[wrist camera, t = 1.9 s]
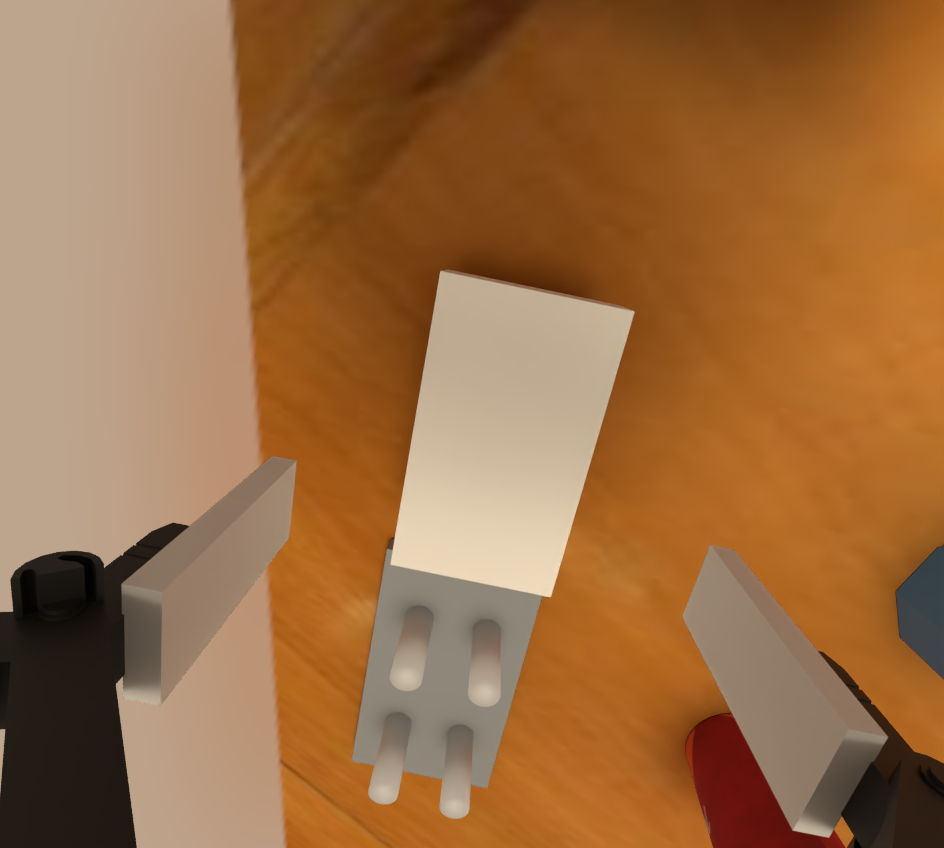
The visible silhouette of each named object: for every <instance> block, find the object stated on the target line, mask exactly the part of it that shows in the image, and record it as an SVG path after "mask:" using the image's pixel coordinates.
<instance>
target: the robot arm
mask: <svg viewBox="0 0 944 848" xmlns="http://www.w3.org/2000/svg"><path fill="white" fill-rule="evenodd" d="M296 464H297V461H296V460H291V459H286V458H281V457H276V456H272V457H270V458H269V459H268V460H267V461H266V462H265V463H263V464H262V465H261V466H260V467H259V468H257V469H256V470H255V471H254V472H253V473H252V474H250V475H249V476H248V477H247V478H246V479H245V480H243V481H242V482H241V483H240V484H239V485H237V486H236V487H235V488H234V489H233V490H232V491H230V492H229V493H228V494H227V495H226V496H225V497H223V498H222V499H221V500H220V501H219V502H217V503H216V504H215V505H214V506H213V507H211V508H210V509H209V510H208V511H207V512H206V513H204V514H203V515H202V516H201V517H200V518H199V519H197V520H196V521H195V522H194V523H193V524H191V525H190V526H187V525H182V524H176V523H171V524H169V525H166V526H164V527H161V528H159V529H157V530H154V531H152V532H151V533H149V534H148V535H147V536H145V537H144V538H143V539H141V540H140V541H139V542H137V543H136V546H134V545H133V546H132V547H131V548H130V549H128V550H127V551H126V552H124V554H123V556H119V557H118V558H117V559H115V560H114V561H113V562H111V563H110V564H109V565H108V566H106V567H105V568H104V563H103V562H102V561H101V559H100V557H98V556H96V555H94V554H92V553H89V552H81V551H66V552H56V553H52V554H48V555H44V556H40V557H38V558H36V559H33V560H31V561H29V562H26V563H25V564H24V565H22V566H21V567H20V568H18V569H17V570H16V571H15V572H14V574H13V576H12V578H11V591H12V601H13V612H0V729H5V743H4V754H3V767H2V781H1V793H0V848H137V847H136V839H135V831H134V823H133V815H132V808H131V800H130V792H129V784H128V777H127V769H126V761H125V753H124V746H123V738H122V730H121V723H120V715H119V707H118V699H117V691H116V683H117V682H118V681H119V680H120V679H121V678H122V677H123V698H124V699H129V700H134V701H139V702H144V703H149V704H154V705H159V706H161V705H162V703H163V702H164V701H165V699H166V698H167V697H168V695H169V694H170V693H171V692H172V690H173V689H174V688H175V686H176V685H177V684H178V682H179V681H180V680H181V679H182V677H183V676H184V675H185V673H186V672H187V671H188V669H189V668H190V667H191V665H192V664H193V663H194V662H195V660H196V659H197V657H198V656H199V655H200V654H201V652H202V651H203V650H204V648H205V647H206V646H207V645H208V643H209V642H210V641H211V639H212V638H213V637H214V635H215V634H216V633H217V631H218V630H219V629H220V628H221V626H222V625H223V624H224V622H225V621H226V620H227V618H228V617H229V616H230V614H231V613H232V612H233V610H234V609H235V608H236V607H237V605H238V604H239V603H240V601H241V600H242V599H243V597H244V596H245V595H246V594H247V592H248V591H249V590H250V588H251V587H252V586H253V584H254V583H255V582H256V581H257V579H258V578H259V577H260V575H261V574H262V573H263V571H264V570H265V569H266V567H267V566H268V565H269V564H270V562H271V561H272V560H273V558H274V557H275V556H276V554H277V553H278V552H279V550H280V549H281V548H282V547H283V545H284V544H285V543H286V541H287V540H288V539H289V534H290V524H291V514H292V504H293V494H294V484H295V474H296ZM682 618H683V620H684V621H685V623H686V625H687V627H688V629H689V631H690V633H691V635H692V637H693V639H694V641H695V643H696V645H697V647H698V649H699V650H700V652H701V654H702V656H703V658H704V660H705V662H706V664H707V666H708V668H709V670H710V672H711V674H712V676H713V678H714V679H715V681H716V683H717V685H718V687H719V689H720V691H721V693H722V695H723V697H724V699H725V701H726V703H727V705H728V707H729V708H730V710H731V712H732V714H733V716H734V718H735V720H736V722H737V724H738V726H739V728H740V730H741V732H742V734H743V736H744V737H745V739H746V741H747V743H748V745H749V747H750V749H751V751H752V753H753V755H754V757H755V759H756V761H757V763H758V765H759V766H760V768H761V770H762V772H763V774H764V776H765V778H766V780H767V782H768V784H769V786H770V788H771V790H772V792H773V794H774V795H775V797H776V799H777V801H778V803H779V805H780V807H781V809H782V811H783V813H784V815H785V817H786V819H787V821H788V823H789V824H790V826H791V828H792V830H793V831H798V832H803V833H808V834H813V835H818V836H823V837H828V838H829V837H830V835H831V833H832V832H833V830H834V828H835V827H836V825H837V823H838V822H839V820H840V818H841V816H842V817H843V818H844V820H845V822H846V823H847V825H848V826H849V828H850V830H851V831H852V833H853V835H854V837H853V839H852V840H851V842H850V843H849V845H848V847H847V848H944V764H943V763H941V762H939V761H937V760H935V759H933V758H931V757H929V756H927V755H923V754H920V753H916V752H914V751H913V750H912V749H911V747H910V746H909V745H908V744H907V743H906V742H905V740H904V739H903V738H902V737H901V736H900V734H899V733H898V732H897V731H896V730H895V729H894V727H893V726H892V725H891V724H890V723H889V722H888V720H887V719H886V718H885V717H884V716H883V714H882V713H881V712H880V711H879V710H878V709H877V707H876V706H875V705H872V704H871V700H870V699H869V698H868V697H867V696H866V694H865V693H864V692H863V691H862V690H859V686H858V685H857V684H856V683H855V682H854V680H853V679H852V678H851V677H850V676H849V674H848V673H847V672H846V671H845V670H844V669H843V668H842V667H841V666H840V665H838V664H837V663H836V662H835V661H833V660H832V659H831V658H830V657H828V656H827V655H826V654H825V653H823V652H820V651H817V650H816V649H815V647H814V646H813V645H812V644H811V642H810V641H809V640H808V639H807V638H806V636H805V635H804V634H803V633H802V631H801V630H800V629H799V628H798V627H797V625H796V624H795V623H794V622H793V620H792V619H791V618H790V617H789V616H788V614H787V613H786V612H785V611H784V610H783V608H782V607H781V606H780V605H779V603H778V602H777V601H776V600H775V599H774V597H773V596H772V595H771V594H770V592H769V591H768V590H767V589H766V588H765V586H764V585H763V584H762V583H761V582H760V580H759V579H758V578H757V577H756V575H755V574H754V573H753V572H752V571H751V569H750V568H749V567H748V566H747V564H746V563H745V562H744V561H743V560H742V558H741V557H740V556H739V555H738V554H737V552H736V551H735V550H733V549H729V548H724V547H719V546H714V545H710V547H709V550H708V552H707V555H706V558H705V560H704V563H703V565H702V568H701V570H700V573H699V575H698V578H697V581H696V583H695V586H694V588H693V591H692V593H691V596H690V599H689V601H688V604H687V606H686V609H685V611H684V614H683V617H682Z"/></svg>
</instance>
